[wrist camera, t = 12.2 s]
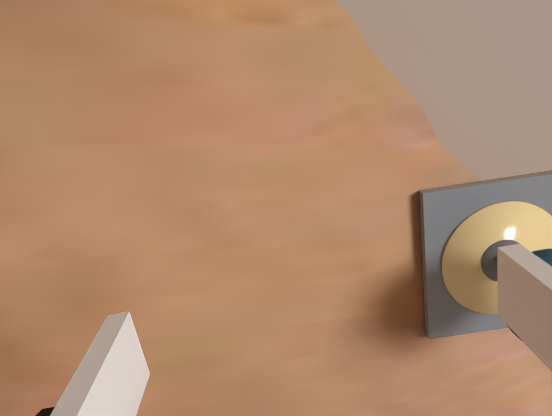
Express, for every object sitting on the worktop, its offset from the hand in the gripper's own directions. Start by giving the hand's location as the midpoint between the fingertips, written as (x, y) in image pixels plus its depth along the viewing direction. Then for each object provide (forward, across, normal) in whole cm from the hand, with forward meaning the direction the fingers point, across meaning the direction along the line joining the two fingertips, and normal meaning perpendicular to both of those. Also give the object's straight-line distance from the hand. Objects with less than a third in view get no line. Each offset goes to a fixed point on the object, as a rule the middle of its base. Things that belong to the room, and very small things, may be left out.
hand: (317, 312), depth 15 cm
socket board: (+25, +20, -14) cm, 35 cm away
